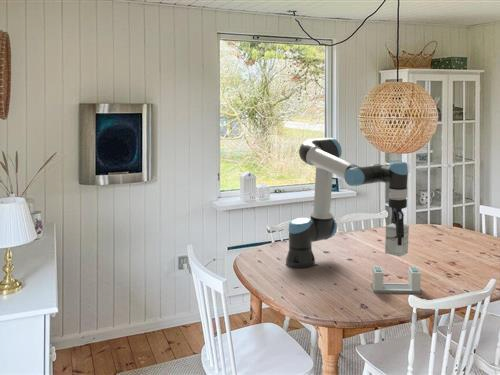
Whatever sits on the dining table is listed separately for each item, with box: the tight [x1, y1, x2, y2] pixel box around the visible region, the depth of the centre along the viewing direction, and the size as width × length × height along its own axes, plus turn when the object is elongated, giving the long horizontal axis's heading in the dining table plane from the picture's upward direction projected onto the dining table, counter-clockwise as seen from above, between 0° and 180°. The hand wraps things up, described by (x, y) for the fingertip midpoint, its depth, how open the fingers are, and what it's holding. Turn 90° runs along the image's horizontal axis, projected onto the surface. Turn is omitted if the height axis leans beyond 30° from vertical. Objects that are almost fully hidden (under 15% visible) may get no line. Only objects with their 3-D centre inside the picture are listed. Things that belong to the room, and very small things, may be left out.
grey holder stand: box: [370, 265, 423, 295], centre depth 206 cm, size 20×9×9 cm, turn 83°
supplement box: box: [384, 223, 410, 258], centre depth 203 cm, size 7×7×13 cm
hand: (396, 248), depth 204 cm, fingers closed on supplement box, 10 cm apart
